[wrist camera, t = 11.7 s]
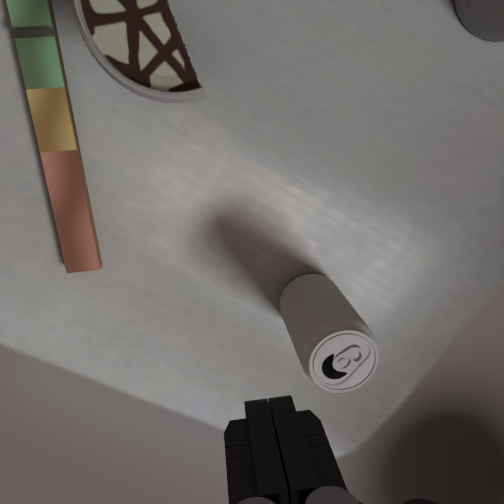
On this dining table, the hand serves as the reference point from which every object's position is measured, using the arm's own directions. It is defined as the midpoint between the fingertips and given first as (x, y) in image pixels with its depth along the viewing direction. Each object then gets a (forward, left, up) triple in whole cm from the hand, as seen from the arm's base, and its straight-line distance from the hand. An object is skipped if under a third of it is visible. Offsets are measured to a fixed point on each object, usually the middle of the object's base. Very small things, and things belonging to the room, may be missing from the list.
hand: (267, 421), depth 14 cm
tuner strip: (+13, -8, -29) cm, 33 cm away
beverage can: (-8, +10, -29) cm, 32 cm away
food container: (+5, -15, -29) cm, 33 cm away
